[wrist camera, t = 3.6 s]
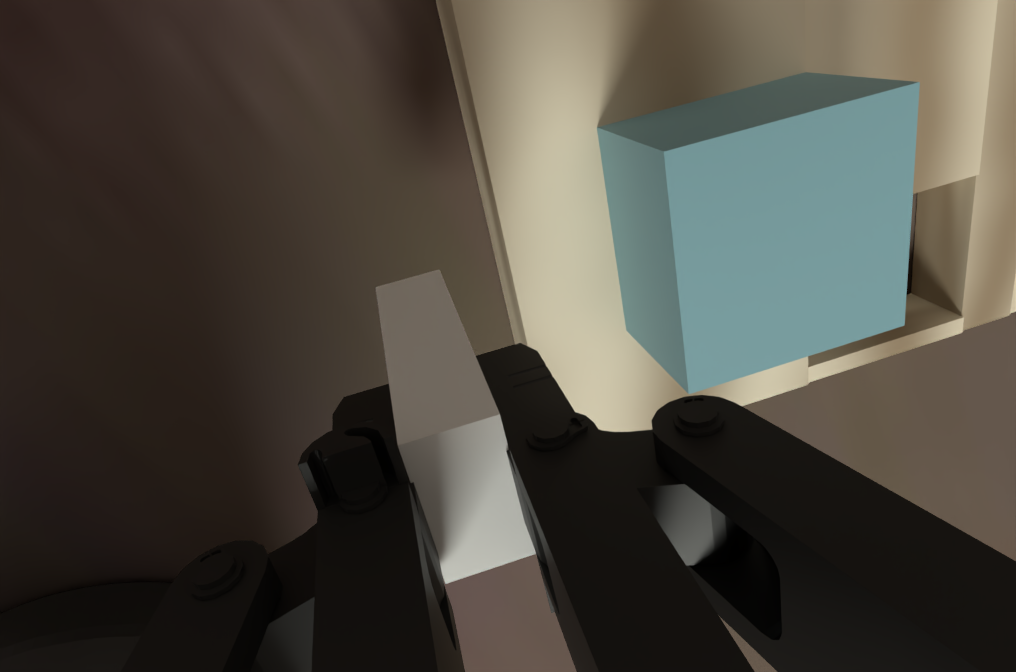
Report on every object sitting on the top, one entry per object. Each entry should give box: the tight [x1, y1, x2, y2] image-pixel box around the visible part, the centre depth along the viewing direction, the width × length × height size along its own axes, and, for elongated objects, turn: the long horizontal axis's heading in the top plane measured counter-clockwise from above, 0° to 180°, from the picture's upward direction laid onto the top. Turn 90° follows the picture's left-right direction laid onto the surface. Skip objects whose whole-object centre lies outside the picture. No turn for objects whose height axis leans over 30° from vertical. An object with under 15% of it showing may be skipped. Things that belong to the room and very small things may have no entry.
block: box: [597, 72, 920, 394], centre depth 17 cm, size 6×6×4 cm
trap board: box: [436, 0, 1016, 432], centre depth 20 cm, size 28×14×5 cm, turn 102°
